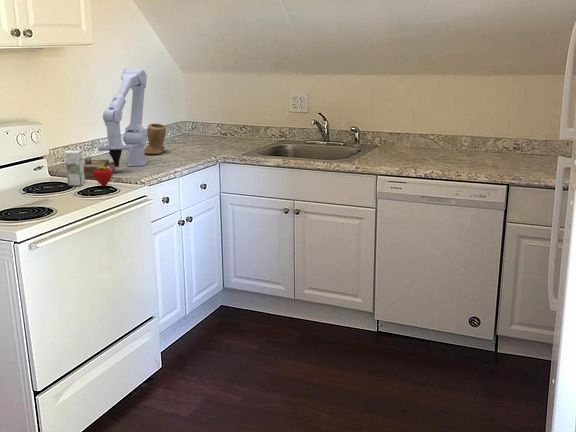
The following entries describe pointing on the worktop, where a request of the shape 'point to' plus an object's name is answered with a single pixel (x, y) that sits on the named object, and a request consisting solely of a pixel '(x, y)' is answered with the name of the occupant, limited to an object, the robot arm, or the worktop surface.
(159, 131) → the brown boot
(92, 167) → the mount
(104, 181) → the strawberry
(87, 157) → the potentiometer
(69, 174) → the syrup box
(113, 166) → the inner knob
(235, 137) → the worktop surface
